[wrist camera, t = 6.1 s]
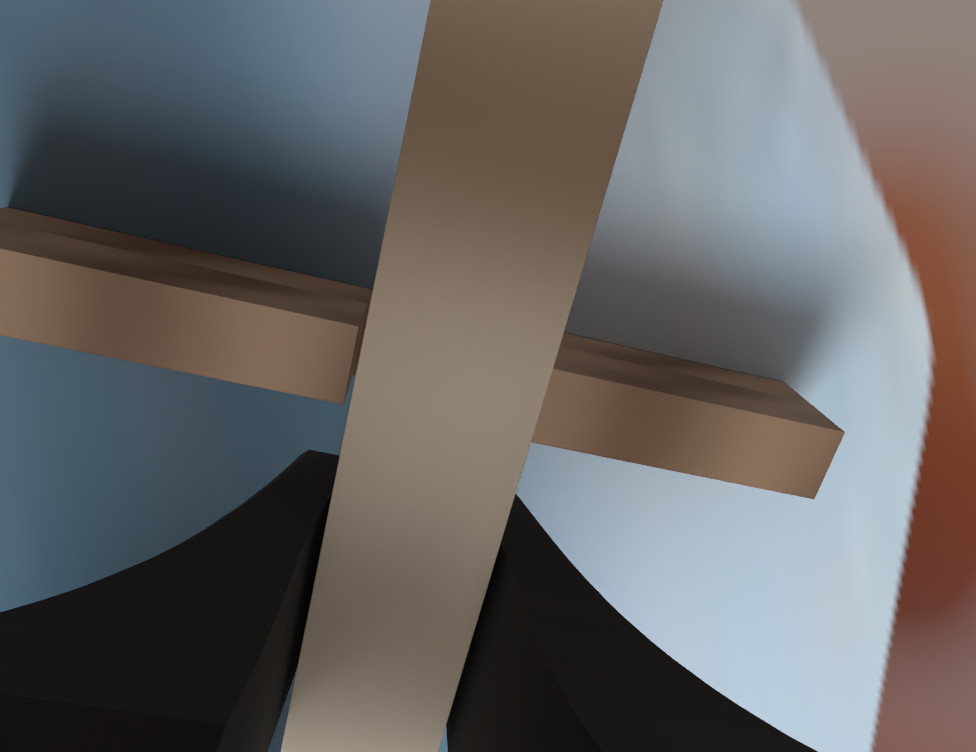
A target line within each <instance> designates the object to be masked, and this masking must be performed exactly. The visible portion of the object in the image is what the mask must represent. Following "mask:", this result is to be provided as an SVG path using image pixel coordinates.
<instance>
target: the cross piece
mask: <svg viewBox="0 0 976 752" xmlns="http://www.w3.org/2000/svg"><path fill="white" fill-rule="evenodd" d="M662 3H663V0H431V2H430V7H429V12H428V17H427V22H426V27H425V32H424V37H423V42H422V47H421V52H420V57H419V62H418V67H417V72H416V77H415V82H414V87H413V92H412V97H411V102H410V107H409V112H408V117H407V122H406V127H405V132H404V137H403V142H402V147H401V152H400V157H399V162H398V167H397V172H396V177H395V182H394V187H393V192H392V197H391V202H390V207H389V212H388V217H387V222H386V227H385V232H384V237H383V242H382V247H381V252H380V257H379V262H378V267H377V272H376V277H375V282H374V287H373V292H372V297H371V302H370V307H369V312H368V317H367V322H366V327H365V332H364V337H363V342H362V347H361V352H360V357H359V362H358V367H357V372H356V377H355V382H354V387H353V392H352V397H351V402H350V407H349V412H348V417H347V422H346V427H345V432H344V437H343V442H342V447H341V452H340V457H339V462H338V467H337V472H336V477H335V482H334V487H333V492H332V497H331V502H330V507H329V512H328V517H327V522H326V527H325V532H324V537H323V542H322V547H321V552H320V557H319V562H318V567H317V572H316V577H315V582H314V587H313V592H312V597H311V602H310V607H309V612H308V617H307V622H306V627H305V632H304V637H303V642H302V647H301V652H300V657H299V662H298V667H297V672H296V677H295V682H294V687H293V692H292V697H291V702H290V707H289V712H288V717H287V722H286V727H285V732H284V737H283V742H282V747H281V752H438V750H439V747H440V743H441V740H442V737H443V733H444V730H445V727H446V723H447V720H448V717H449V713H450V710H451V707H452V703H453V700H454V697H455V693H456V690H457V687H458V683H459V680H460V677H461V673H462V670H463V667H464V663H465V660H466V657H467V653H468V650H469V647H470V643H471V640H472V637H473V633H474V630H475V627H476V623H477V620H478V617H479V613H480V610H481V607H482V603H483V600H484V597H485V593H486V590H487V587H488V583H489V580H490V577H491V573H492V570H493V567H494V563H495V560H496V557H497V553H498V550H499V547H500V543H501V540H502V537H503V533H504V530H505V527H506V523H507V520H508V517H509V513H510V510H511V507H512V503H513V500H514V497H515V493H516V490H517V487H518V483H519V480H520V477H521V473H522V470H523V467H524V463H525V460H526V457H527V453H528V450H529V447H530V443H531V440H532V437H533V433H534V430H535V427H536V423H537V420H538V417H539V413H540V410H541V407H542V403H543V400H544V397H545V393H546V390H547V387H548V383H549V380H550V377H551V373H552V370H553V367H554V363H555V360H556V357H557V353H558V350H559V347H560V343H561V340H562V337H563V333H564V330H565V327H566V323H567V320H568V317H569V313H570V310H571V307H572V303H573V300H574V297H575V293H576V290H577V287H578V283H579V280H580V277H581V273H582V270H583V267H584V263H585V260H586V257H587V253H588V250H589V247H590V243H591V240H592V237H593V233H594V230H595V227H596V223H597V220H598V217H599V213H600V210H601V207H602V203H603V200H604V197H605V193H606V190H607V187H608V183H609V180H610V177H611V173H612V170H613V167H614V163H615V160H616V157H617V153H618V150H619V147H620V143H621V140H622V137H623V133H624V130H625V127H626V123H627V120H628V117H629V113H630V110H631V107H632V103H633V100H634V97H635V93H636V90H637V87H638V83H639V80H640V77H641V73H642V70H643V67H644V63H645V60H646V57H647V53H648V50H649V47H650V43H651V40H652V37H653V33H654V30H655V27H656V23H657V20H658V17H659V13H660V10H661V7H662Z"/></svg>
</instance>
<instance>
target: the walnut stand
mask: <svg viewBox="0 0 976 752" xmlns="http://www.w3.org/2000/svg"><path fill="white" fill-rule="evenodd" d="M372 292H373V290H372V289H368V288H363V287H359V286H354V285H350V284H345V283H341V282H337V281H332V280H328V279H323V278H319V277H314V276H310V275H306V274H301V273H297V272H292V271H288V270H283V269H279V268H274V267H270V266H266V265H261V264H257V263H252V262H248V261H243V260H239V259H235V258H230V257H226V256H221V255H217V254H212V253H208V252H203V251H199V250H195V249H190V248H186V247H181V246H177V245H172V244H168V243H164V242H159V241H155V240H150V239H146V238H141V237H137V236H133V235H128V234H124V233H119V232H115V231H110V230H106V229H101V228H97V227H93V226H88V225H84V224H79V223H75V222H70V221H66V220H62V219H57V218H53V217H48V216H44V215H39V214H35V213H30V212H26V211H22V210H17V209H13V208H8V207H5V208H1V209H0V335H2V336H7V337H12V338H17V339H22V340H27V341H32V342H37V343H42V344H47V345H52V346H56V347H61V348H66V349H71V350H76V351H81V352H86V353H91V354H96V355H101V356H106V357H111V358H116V359H121V360H126V361H131V362H136V363H141V364H146V365H151V366H156V367H161V368H166V369H171V370H176V371H180V372H185V373H190V374H195V375H200V376H205V377H210V378H215V379H220V380H225V381H230V382H235V383H240V384H245V385H250V386H255V387H260V388H265V389H270V390H275V391H280V392H285V393H290V394H295V395H300V396H305V397H309V398H314V399H319V400H324V401H329V402H334V403H339V404H344V401H345V398H346V395H347V391H348V388H349V385H350V382H351V379H352V376H353V375H356V372H357V367H358V362H359V357H360V352H361V347H362V342H363V337H364V332H365V327H366V322H367V317H368V312H369V307H370V302H371V297H372ZM844 433H845V432H844V431H843V430H842V429H840V428H839V427H838V426H837V425H835V424H834V423H833V422H832V421H831V420H829V419H828V418H827V417H826V416H824V415H823V414H822V413H821V412H820V411H818V410H817V409H816V408H815V407H814V406H812V405H811V404H810V403H809V402H807V401H806V400H805V399H804V398H803V397H801V396H800V395H799V394H798V393H797V392H795V391H794V390H793V389H792V388H790V387H789V386H788V385H787V384H786V383H784V382H780V381H776V380H771V379H767V378H763V377H758V376H754V375H749V374H745V373H740V372H736V371H731V370H727V369H723V368H718V367H714V366H709V365H705V364H700V363H696V362H692V361H687V360H683V359H678V358H674V357H669V356H665V355H660V354H656V353H652V352H647V351H643V350H638V349H634V348H629V347H625V346H621V345H616V344H612V343H607V342H603V341H598V340H594V339H589V338H585V337H581V336H576V335H572V334H567V333H563V337H562V340H561V343H560V347H559V350H558V353H557V357H556V360H555V363H554V367H553V370H552V373H551V377H550V380H549V383H548V387H547V390H546V393H545V397H544V400H543V403H542V407H541V410H540V413H539V417H538V420H537V423H536V427H535V430H534V433H533V437H532V440H531V442H533V443H538V444H543V445H548V446H553V447H558V448H563V449H567V450H572V451H577V452H582V453H587V454H592V455H597V456H602V457H607V458H612V459H617V460H622V461H627V462H632V463H637V464H642V465H647V466H652V467H657V468H662V469H667V470H672V471H677V472H682V473H687V474H691V475H696V476H701V477H706V478H711V479H716V480H721V481H726V482H731V483H736V484H741V485H746V486H751V487H756V488H761V489H766V490H771V491H776V492H781V493H786V494H791V495H796V496H801V497H806V498H811V499H814V498H815V496H816V494H817V492H818V490H819V488H820V485H821V483H822V481H823V479H824V477H825V474H826V472H827V470H828V468H829V466H830V464H831V461H832V459H833V457H834V455H835V453H836V451H837V448H838V446H839V444H840V442H841V440H842V437H843V435H844Z"/></svg>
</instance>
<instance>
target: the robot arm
mask: <svg viewBox="0 0 976 752" xmlns="http://www.w3.org/2000/svg"><path fill="white" fill-rule="evenodd" d="M339 457H340V456H339V455H333V454H328V453H323V452H318V451H312V450H308V451H306V452H305V453H303V454H301V455H300V456H299V457H298V458H297V459H296V460H295V461H294V462H293V463H292V464H291V465H290V466H288V467H287V468H286V469H285V470H284V471H283V472H282V473H281V474H279V475H278V476H277V477H276V478H275V479H274V480H272V481H271V482H270V483H269V484H268V485H266V486H265V487H264V488H262V489H261V490H260V491H258V492H257V493H256V494H255V495H253V496H252V497H251V498H249V499H248V500H247V501H246V502H244V503H243V504H242V505H240V506H239V507H237V508H236V509H234V510H233V511H231V512H230V513H228V514H227V515H225V516H224V517H222V518H221V519H219V520H218V521H216V522H215V523H213V524H212V525H210V526H209V527H207V528H206V529H204V530H203V531H201V532H199V533H198V534H196V535H194V536H193V537H191V538H189V539H188V540H186V541H184V542H182V543H181V544H179V545H177V546H175V547H173V548H171V549H169V550H167V551H165V552H163V553H161V554H159V555H157V556H155V557H153V558H151V559H149V560H147V561H145V562H142V563H140V564H137V565H135V566H132V567H130V568H128V569H125V570H123V571H120V572H118V573H115V574H113V575H110V576H108V577H106V578H103V579H101V580H98V581H96V582H93V583H91V584H88V585H86V586H83V587H80V588H78V589H75V590H72V591H69V592H66V593H63V594H60V595H57V596H54V597H51V598H48V599H45V600H41V601H38V602H35V603H31V604H28V605H24V606H21V607H18V608H14V609H11V610H8V611H4V612H0V752H267V750H268V747H269V745H270V742H271V739H272V736H273V733H274V731H275V728H276V725H277V722H278V719H279V717H280V714H281V711H282V708H283V706H284V703H285V700H286V697H287V694H288V692H289V689H290V686H291V683H292V680H293V678H294V675H295V672H296V669H297V666H298V662H299V657H300V652H301V647H302V642H303V637H304V632H305V627H306V622H307V617H308V612H309V607H310V602H311V597H312V592H313V587H314V582H315V577H316V572H317V567H318V562H319V557H320V552H321V547H322V542H323V537H324V532H325V527H326V522H327V517H328V512H329V507H330V502H331V497H332V492H333V487H334V482H335V477H336V472H337V467H338V462H339ZM446 728H447V743H448V752H817V751H816V750H814V749H812V748H810V747H808V746H806V745H804V744H802V743H800V742H798V741H797V740H795V739H793V738H791V737H789V736H788V735H786V734H784V733H783V732H781V731H779V730H778V729H776V728H774V727H773V726H771V725H770V724H768V723H766V722H765V721H763V720H761V719H760V718H758V717H757V716H755V715H753V714H752V713H750V712H748V711H747V710H745V709H744V708H742V707H740V706H739V705H737V704H736V703H734V702H733V701H731V700H730V699H728V698H727V697H725V696H724V695H722V694H721V693H719V692H718V691H716V690H715V689H713V688H712V687H710V686H709V685H708V684H706V683H705V682H704V681H702V680H701V679H700V678H698V677H697V676H695V675H694V674H693V673H691V672H690V671H689V670H687V669H686V668H685V667H683V666H682V665H681V664H679V663H678V662H676V661H675V660H674V659H672V658H671V657H670V656H669V655H667V654H666V653H665V652H664V651H662V650H661V649H660V648H659V647H657V646H656V645H655V644H654V643H653V642H651V641H650V640H649V639H648V638H647V637H646V636H645V635H643V634H642V633H641V632H640V631H639V630H638V629H637V628H636V627H634V626H633V625H632V624H631V623H630V622H629V621H628V620H626V619H625V618H624V617H623V616H622V615H621V614H620V613H619V612H618V611H617V610H616V609H615V608H614V607H613V606H611V605H610V604H609V603H608V602H607V601H606V600H605V599H604V597H603V596H602V595H601V594H600V593H599V592H598V591H597V590H596V589H595V588H594V587H593V586H592V585H591V584H590V583H589V582H588V581H587V580H586V579H585V578H584V576H583V575H582V574H581V573H580V572H579V571H578V570H577V569H576V567H575V566H574V565H573V564H572V563H571V562H570V561H569V559H568V558H567V557H566V556H565V555H564V554H563V552H562V551H561V550H560V549H559V548H558V546H557V545H556V544H555V543H554V542H553V540H552V539H551V538H550V537H549V535H548V534H547V533H546V532H545V530H544V529H543V528H542V526H541V525H540V524H539V523H538V521H537V520H536V519H535V518H534V516H533V515H532V514H531V512H530V511H529V510H528V508H527V507H526V506H525V505H524V503H523V502H522V501H521V500H520V498H519V497H518V496H517V495H516V493H515V497H514V500H513V503H512V507H511V510H510V513H509V517H508V520H507V523H506V527H505V530H504V533H503V537H502V540H501V543H500V547H499V550H498V553H497V557H496V560H495V563H494V567H493V570H492V573H491V577H490V580H489V583H488V587H487V590H486V593H485V597H484V600H483V603H482V607H481V610H480V613H479V617H478V620H477V623H476V627H475V630H474V633H473V637H472V640H471V643H470V647H469V650H468V653H467V657H466V660H465V663H464V667H463V670H462V673H461V677H460V680H459V683H458V687H457V690H456V693H455V697H454V700H453V703H452V707H451V710H450V713H449V717H448V720H447V723H446Z"/></svg>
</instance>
